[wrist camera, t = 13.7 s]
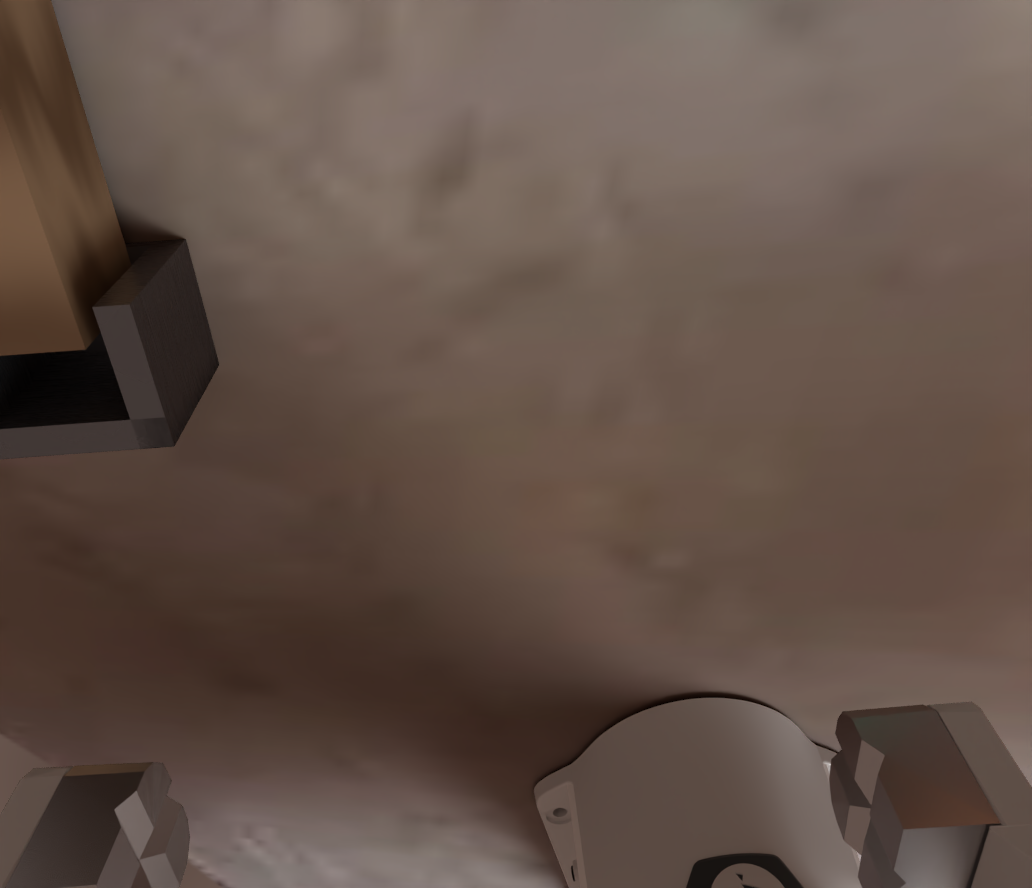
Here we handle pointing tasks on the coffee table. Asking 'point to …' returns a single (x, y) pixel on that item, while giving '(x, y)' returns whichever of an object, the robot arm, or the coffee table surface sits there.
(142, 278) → the endcap
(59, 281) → the slat
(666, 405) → the coffee table surface
